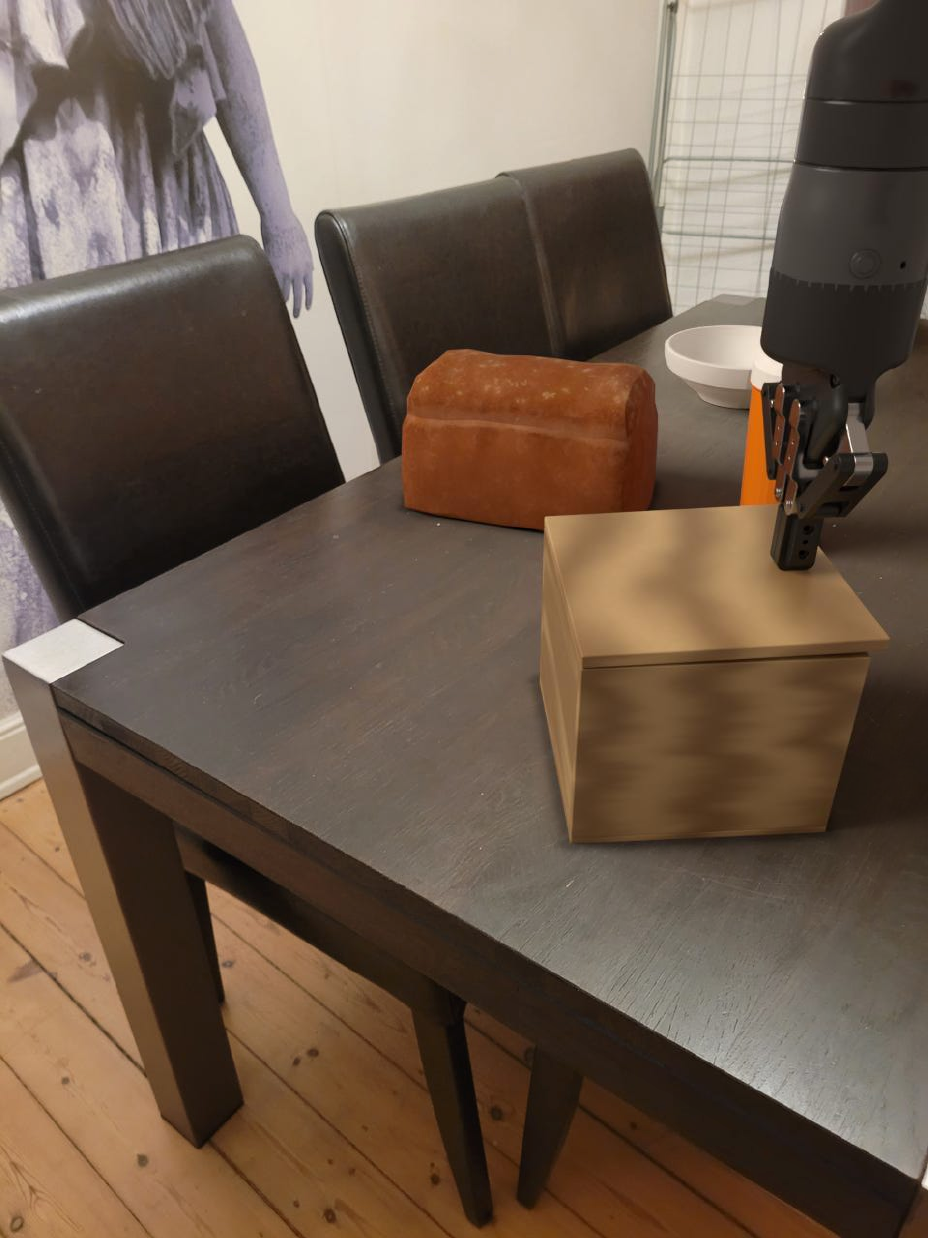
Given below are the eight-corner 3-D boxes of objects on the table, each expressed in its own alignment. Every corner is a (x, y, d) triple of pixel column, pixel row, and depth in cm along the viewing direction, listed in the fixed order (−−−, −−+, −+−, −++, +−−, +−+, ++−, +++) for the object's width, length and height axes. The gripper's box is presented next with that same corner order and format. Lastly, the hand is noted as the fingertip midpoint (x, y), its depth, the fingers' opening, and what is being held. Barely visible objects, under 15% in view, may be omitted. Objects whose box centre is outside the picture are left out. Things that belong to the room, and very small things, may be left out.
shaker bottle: (767, 574, 83) (808, 353, 72) (707, 533, 90) (735, 325, 79) (844, 554, 86) (894, 338, 75) (780, 515, 93) (817, 313, 82)
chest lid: (783, 513, 63) (785, 502, 63) (888, 651, 49) (891, 638, 49) (544, 526, 63) (544, 516, 62) (581, 668, 49) (581, 656, 48)
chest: (743, 675, 70) (771, 518, 63) (824, 836, 56) (872, 657, 49) (539, 684, 70) (544, 527, 63) (570, 848, 56) (580, 669, 49)
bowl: (803, 378, 128) (812, 326, 125) (823, 429, 112) (835, 371, 108) (659, 373, 132) (664, 322, 128) (660, 422, 115) (665, 365, 112)
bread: (453, 454, 108) (449, 326, 100) (661, 482, 100) (675, 345, 92) (392, 516, 95) (382, 374, 87) (627, 553, 87) (640, 401, 79)
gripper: (993, 291, 41) (900, 621, 50) (870, 235, 52) (812, 513, 61) (825, 295, 41) (763, 626, 50) (737, 238, 52) (700, 517, 61)
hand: (790, 563), depth 56 cm, fingers closed
